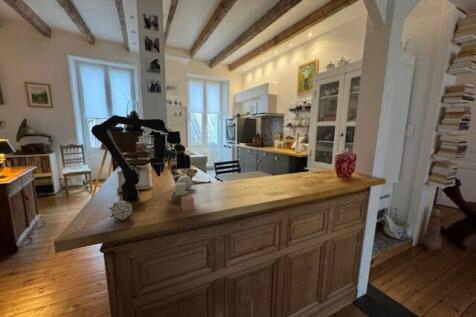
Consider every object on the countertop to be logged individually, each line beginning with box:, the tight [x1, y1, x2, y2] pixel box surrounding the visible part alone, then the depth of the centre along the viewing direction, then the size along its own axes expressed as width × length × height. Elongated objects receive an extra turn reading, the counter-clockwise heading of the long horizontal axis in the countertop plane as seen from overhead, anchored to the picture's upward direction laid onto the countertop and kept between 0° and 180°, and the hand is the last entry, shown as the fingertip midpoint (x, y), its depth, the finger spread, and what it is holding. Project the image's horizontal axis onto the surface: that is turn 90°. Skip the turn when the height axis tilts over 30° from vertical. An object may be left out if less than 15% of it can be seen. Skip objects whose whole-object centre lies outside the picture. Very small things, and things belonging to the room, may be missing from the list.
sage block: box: [174, 183, 186, 196], centre depth 98 cm, size 4×4×5 cm
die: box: [175, 175, 194, 191], centre depth 117 cm, size 8×9×10 cm
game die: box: [108, 197, 136, 223], centre depth 78 cm, size 9×8×10 cm
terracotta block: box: [180, 195, 195, 212], centre depth 91 cm, size 4×4×5 cm
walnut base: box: [171, 190, 189, 205], centre depth 99 cm, size 7×7×4 cm
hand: (160, 174), depth 104 cm, fingers open, 9 cm apart
